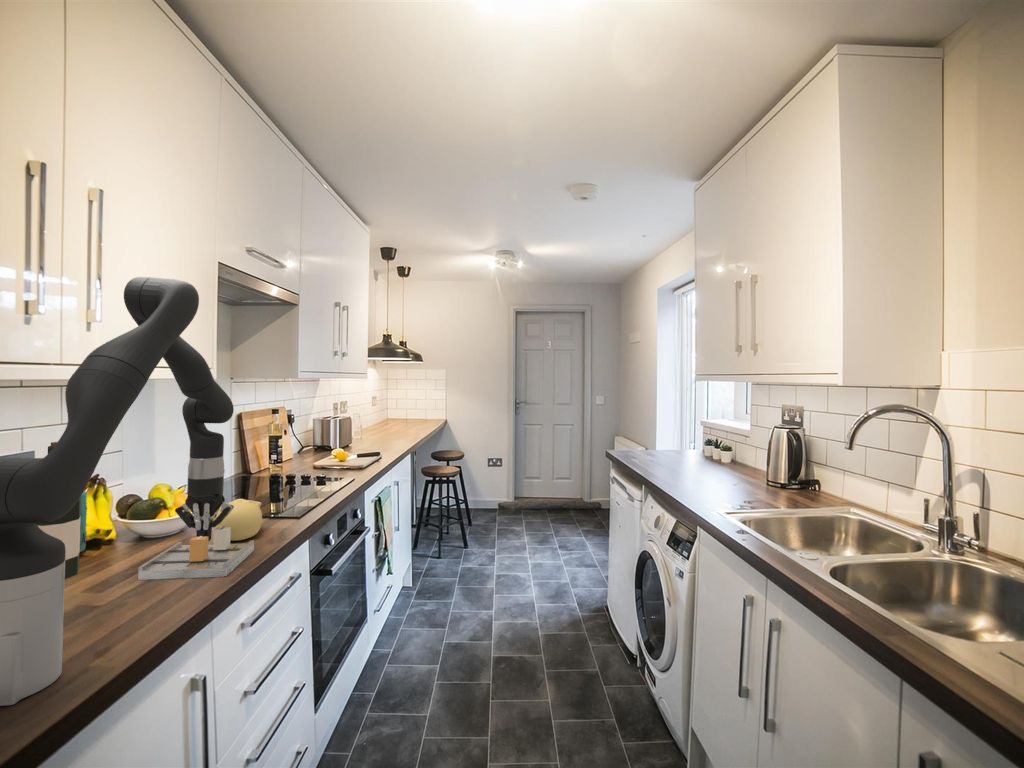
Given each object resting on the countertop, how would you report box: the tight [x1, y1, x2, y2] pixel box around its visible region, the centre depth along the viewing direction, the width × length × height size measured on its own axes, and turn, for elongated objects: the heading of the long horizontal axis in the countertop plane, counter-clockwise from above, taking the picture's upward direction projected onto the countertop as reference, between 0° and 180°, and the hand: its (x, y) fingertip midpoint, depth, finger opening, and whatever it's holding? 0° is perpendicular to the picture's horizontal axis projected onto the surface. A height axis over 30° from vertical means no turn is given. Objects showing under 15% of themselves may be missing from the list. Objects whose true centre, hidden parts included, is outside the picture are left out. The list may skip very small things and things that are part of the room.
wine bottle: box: [36, 441, 81, 580], centre depth 101 cm, size 8×8×30 cm
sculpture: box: [214, 498, 263, 542], centre depth 129 cm, size 12×12×11 cm
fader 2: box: [212, 526, 231, 550], centre depth 114 cm, size 2×3×5 cm
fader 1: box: [189, 536, 209, 561], centre depth 107 cm, size 2×3×5 cm
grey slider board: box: [137, 539, 255, 581], centre depth 110 cm, size 16×18×3 cm
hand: (203, 543), depth 113 cm, fingers closed
